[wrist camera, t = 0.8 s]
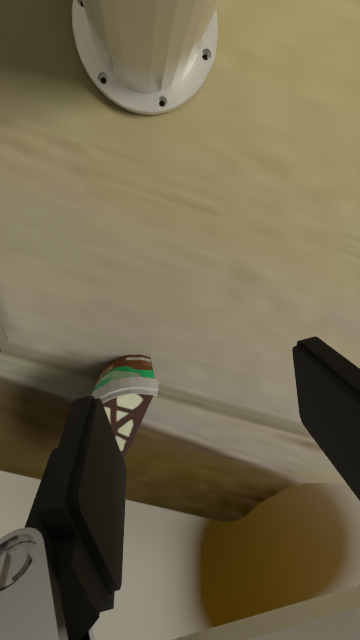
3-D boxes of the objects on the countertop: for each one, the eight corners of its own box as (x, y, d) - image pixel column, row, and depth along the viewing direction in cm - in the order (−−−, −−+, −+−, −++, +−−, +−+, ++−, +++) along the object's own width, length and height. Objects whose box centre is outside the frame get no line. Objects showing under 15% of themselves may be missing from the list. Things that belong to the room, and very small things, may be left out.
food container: (106, 329, 38) (95, 370, 29) (154, 346, 39) (159, 391, 30) (73, 414, 41) (54, 475, 32) (119, 426, 43) (113, 489, 33)
